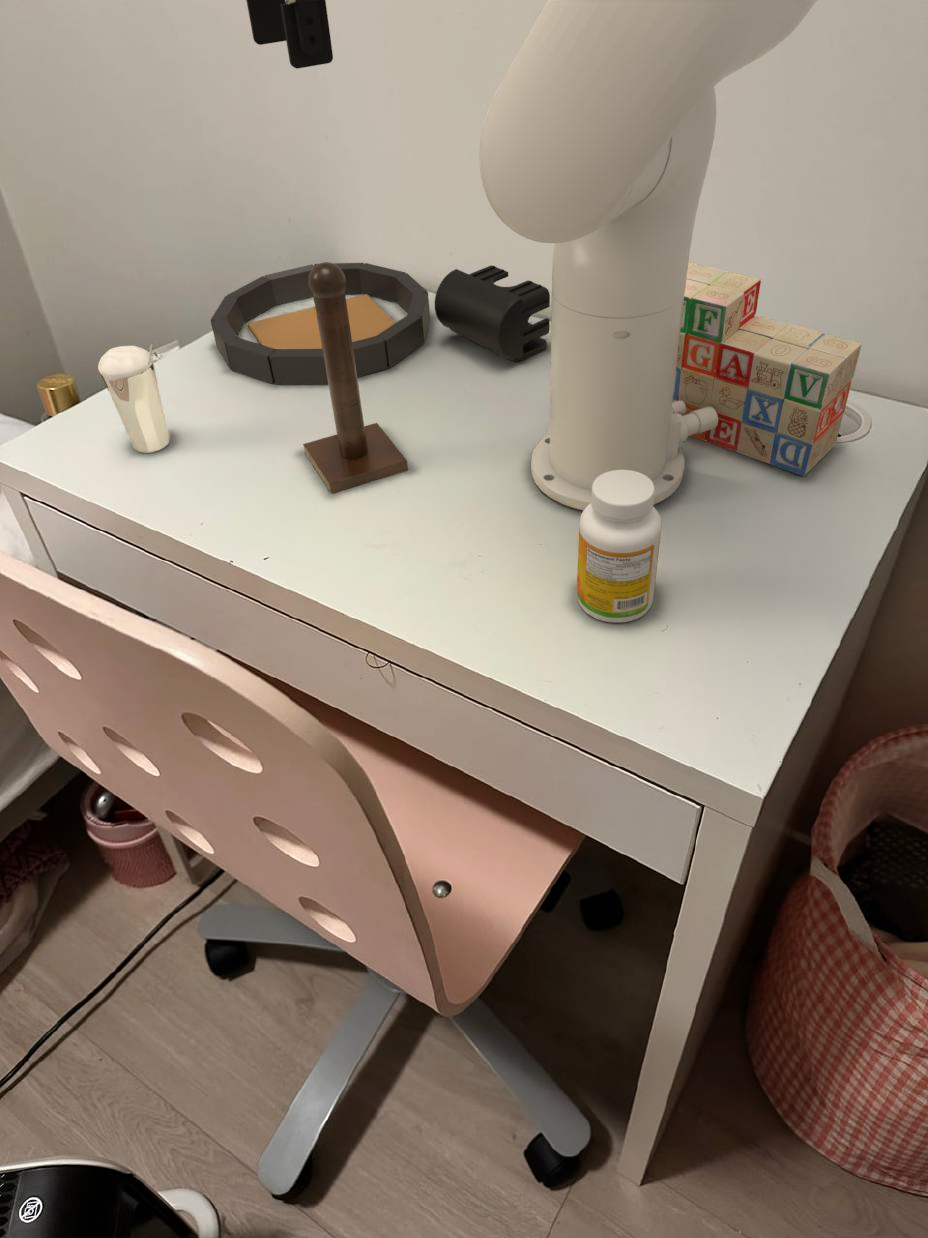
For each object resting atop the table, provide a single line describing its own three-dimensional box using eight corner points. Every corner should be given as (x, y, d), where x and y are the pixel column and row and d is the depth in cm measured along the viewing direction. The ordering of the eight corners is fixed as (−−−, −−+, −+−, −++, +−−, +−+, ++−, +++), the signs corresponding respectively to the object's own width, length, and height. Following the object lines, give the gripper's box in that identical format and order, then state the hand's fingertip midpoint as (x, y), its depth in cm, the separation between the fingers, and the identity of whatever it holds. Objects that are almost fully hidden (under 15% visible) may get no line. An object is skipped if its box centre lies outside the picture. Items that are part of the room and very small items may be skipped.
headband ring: (382, 273, 110) (379, 247, 108) (462, 348, 95) (460, 320, 93) (198, 317, 104) (191, 291, 102) (253, 406, 89) (246, 377, 87)
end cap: (436, 341, 96) (430, 277, 92) (487, 318, 100) (484, 256, 95) (500, 374, 91) (498, 307, 86) (552, 349, 94) (553, 284, 89)
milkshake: (172, 459, 83) (139, 356, 76) (117, 455, 84) (80, 353, 77) (193, 432, 86) (163, 330, 79) (140, 428, 87) (106, 327, 80)
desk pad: (367, 297, 105) (366, 293, 105) (408, 338, 97) (407, 335, 97) (248, 326, 101) (247, 323, 101) (280, 372, 93) (279, 369, 93)
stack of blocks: (838, 444, 79) (874, 305, 70) (804, 479, 75) (838, 337, 67) (624, 373, 89) (633, 245, 81) (586, 400, 86) (592, 269, 78)
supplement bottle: (597, 566, 69) (604, 454, 62) (665, 589, 66) (679, 476, 60) (563, 609, 66) (565, 496, 59) (633, 635, 63) (644, 520, 57)
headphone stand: (378, 432, 84) (352, 238, 72) (408, 469, 79) (385, 269, 68) (304, 453, 82) (265, 258, 70) (331, 493, 77) (293, 291, 66)
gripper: (343, -258, 56) (377, 66, 67) (262, -248, 67) (303, 27, 79) (221, -250, 54) (278, 83, 65) (160, -241, 65) (217, 40, 77)
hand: (292, 52), depth 72 cm, fingers open, 9 cm apart
